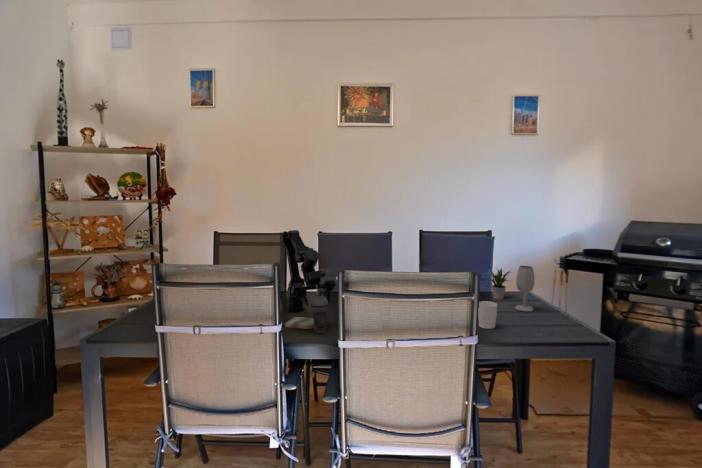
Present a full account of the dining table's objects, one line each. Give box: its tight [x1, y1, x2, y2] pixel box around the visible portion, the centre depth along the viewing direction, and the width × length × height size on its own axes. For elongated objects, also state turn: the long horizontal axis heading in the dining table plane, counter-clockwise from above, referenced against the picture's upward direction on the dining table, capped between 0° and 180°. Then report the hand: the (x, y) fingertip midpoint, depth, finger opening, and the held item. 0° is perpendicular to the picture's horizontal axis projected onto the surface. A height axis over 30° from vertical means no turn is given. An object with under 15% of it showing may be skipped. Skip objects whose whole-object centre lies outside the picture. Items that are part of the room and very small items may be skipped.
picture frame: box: [284, 316, 314, 330], centre depth 195 cm, size 12×10×2 cm
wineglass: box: [514, 265, 536, 313], centre depth 213 cm, size 9×9×21 cm
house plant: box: [488, 267, 515, 300], centre depth 233 cm, size 14×14×16 cm
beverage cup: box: [310, 284, 329, 334], centre depth 185 cm, size 7×7×20 cm
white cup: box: [477, 300, 498, 330], centre depth 190 cm, size 8×8×10 cm
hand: (318, 304), depth 186 cm, fingers open, 9 cm apart
